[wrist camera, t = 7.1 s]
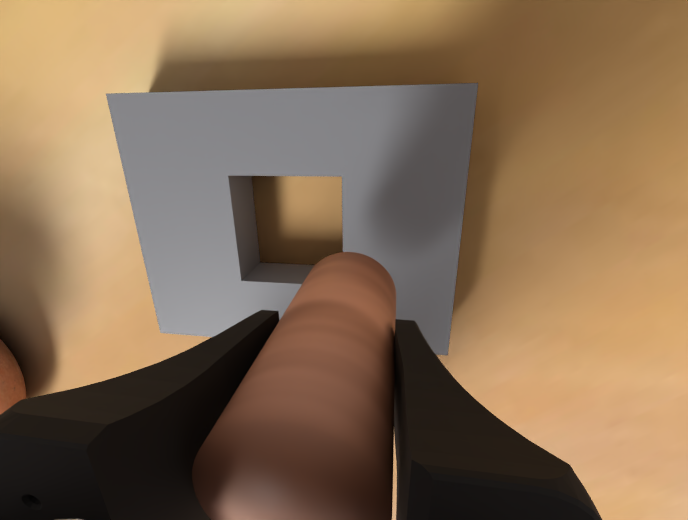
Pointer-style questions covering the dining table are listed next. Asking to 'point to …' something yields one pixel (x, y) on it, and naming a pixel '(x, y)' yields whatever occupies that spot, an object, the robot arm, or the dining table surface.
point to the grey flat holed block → (295, 160)
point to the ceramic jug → (10, 379)
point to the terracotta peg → (312, 408)
